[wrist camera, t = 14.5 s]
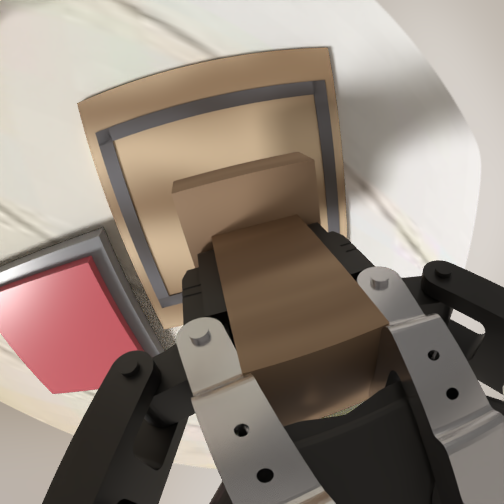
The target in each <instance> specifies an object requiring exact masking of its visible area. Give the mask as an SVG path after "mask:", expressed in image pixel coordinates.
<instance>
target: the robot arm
mask: <svg viewBox="0 0 504 504" xmlns="http://www.w3.org/2000/svg"><path fill="white" fill-rule="evenodd" d="M307 226H308V227H309V228H310V229H311V230H312V231H313V232H314V233H315V235H316V236H317V237H318V238H319V239H320V240H321V241H322V242H323V244H324V245H325V246H326V247H327V248H328V249H329V250H330V252H331V253H332V254H333V255H334V256H335V257H336V258H337V260H338V261H339V262H340V263H341V264H342V265H343V267H344V268H345V269H346V270H347V271H348V273H349V274H350V275H351V276H352V277H353V278H354V280H355V281H356V282H357V283H358V284H359V286H360V287H361V288H362V289H363V290H364V292H365V293H366V294H367V295H368V296H369V298H370V299H371V300H372V301H373V303H374V304H375V305H376V306H377V308H378V309H379V310H380V311H381V313H382V314H383V315H384V316H385V318H386V319H387V320H388V321H389V323H390V324H389V326H385V327H383V328H382V330H381V336H380V341H379V347H378V358H377V363H376V367H375V372H374V376H373V379H372V380H371V384H370V388H369V399H367V400H366V401H365V402H363V403H362V404H361V405H359V406H358V407H357V408H355V409H354V410H352V411H351V412H350V413H348V414H346V415H343V416H337V417H330V418H322V419H314V420H305V421H299V422H296V423H293V424H290V425H286V426H283V425H282V424H281V422H280V421H279V419H278V417H277V416H276V414H275V412H274V411H273V409H272V407H271V406H270V404H269V402H268V400H267V399H266V397H265V395H264V394H263V392H262V390H261V388H260V387H259V385H258V383H257V381H256V380H255V378H254V377H253V375H252V374H251V373H249V374H247V375H245V376H243V375H242V371H241V367H240V363H239V359H238V355H237V351H236V346H235V342H234V338H233V334H232V330H231V325H230V321H229V317H228V312H227V308H226V303H225V299H224V294H223V290H222V285H221V281H220V276H219V271H218V267H217V262H216V257H215V252H214V249H213V250H210V251H206V252H202V253H199V254H197V256H198V265H199V267H198V268H194V269H190V270H187V271H186V273H185V275H184V277H183V279H182V297H183V299H182V303H183V327H182V328H181V329H180V330H179V332H178V334H177V337H176V344H175V345H173V346H172V347H171V348H169V349H168V350H166V351H164V352H162V353H160V354H158V355H156V356H154V357H151V356H150V355H149V354H148V353H147V352H144V351H141V350H134V351H130V352H127V353H125V354H123V355H121V356H120V357H119V358H117V359H116V360H115V362H114V363H113V364H112V366H111V368H110V369H109V371H108V373H107V375H106V377H105V378H104V380H103V382H102V384H101V385H100V387H99V389H98V391H97V393H96V395H95V396H94V398H93V400H92V402H91V404H90V406H89V408H88V409H87V411H86V413H85V415H84V417H83V419H82V421H81V423H80V425H79V427H78V429H77V431H76V432H75V434H74V436H73V438H72V440H71V442H70V445H69V446H68V448H67V451H66V453H65V455H64V457H63V459H62V461H61V463H60V465H59V467H58V470H57V472H56V474H55V476H54V478H53V480H52V482H51V485H50V487H49V489H48V492H47V494H46V496H45V498H44V501H43V503H42V504H158V503H159V501H160V498H161V495H162V492H163V489H164V486H165V483H166V481H167V478H168V475H169V472H170V469H171V466H172V463H173V461H174V458H175V455H176V452H177V449H178V446H179V443H180V441H181V438H182V435H183V432H184V429H185V426H186V424H187V421H188V417H189V416H191V415H193V414H195V413H196V416H197V419H198V422H199V424H200V427H201V430H202V432H203V435H204V437H205V440H206V443H207V445H208V448H209V450H210V453H211V455H212V457H213V460H214V462H215V465H216V467H217V469H218V472H219V474H220V476H221V479H222V483H221V484H220V486H219V488H218V490H217V491H216V493H215V495H214V497H213V498H212V500H211V502H210V504H504V398H503V399H502V400H499V399H495V398H492V397H489V396H486V395H485V393H484V391H483V390H482V388H481V386H480V384H479V382H478V380H479V381H481V382H482V383H484V384H486V385H488V386H489V387H491V388H493V389H494V390H496V391H498V392H499V393H501V394H503V395H504V287H501V286H500V285H497V284H495V283H493V282H491V281H489V280H487V279H485V278H483V277H481V276H478V275H476V274H474V273H472V272H470V271H467V270H465V269H463V268H461V267H458V266H456V265H454V264H452V263H449V262H446V261H431V262H429V263H427V264H426V265H425V266H424V268H423V273H422V276H417V277H408V278H401V277H400V276H399V274H398V273H397V272H395V271H394V270H392V269H390V268H386V267H375V266H374V265H373V264H372V263H371V262H370V261H369V260H368V259H367V258H366V257H365V256H364V255H363V254H362V253H361V252H360V251H359V250H358V249H356V247H355V246H354V245H353V244H351V242H350V241H349V240H348V239H347V238H346V237H345V236H344V235H341V234H339V233H337V232H334V231H331V232H327V231H326V230H325V229H324V228H323V227H322V226H321V225H320V224H319V223H317V222H316V223H312V224H308V225H307ZM453 309H455V310H457V311H459V312H461V313H463V314H465V315H467V316H469V317H471V318H473V319H474V320H476V321H478V322H480V323H481V324H482V325H483V326H484V328H485V333H484V334H477V333H475V332H473V331H471V330H470V329H468V328H466V327H464V326H462V325H460V324H459V323H457V322H455V321H453V320H451V319H450V317H451V314H452V311H453Z"/></svg>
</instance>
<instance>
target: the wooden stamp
mask: <svg viewBox="0 0 504 504" xmlns="http://www.w3.org/2000/svg"><path fill="white" fill-rule="evenodd" d="M171 194H172V198H173V201H174V204H175V207H176V211H177V214H178V217H179V220H180V224H181V227H182V230H183V233H184V236H185V239H186V242H187V245H188V248H189V251H190V254H191V257H192V260H193V263H194V266H195V268H198V267H199V265H198V256H197V254H199V253H202V252H206V251H210V250H213V249H214V252H215V257H216V262H217V267H218V271H219V276H220V281H221V285H222V290H223V294H224V299H225V303H226V308H227V312H228V317H229V321H230V325H231V330H232V334H233V338H234V342H235V346H236V351H237V355H238V359H239V363H240V367H241V371H242V375H243V376H245V375H247V374H249V373H251V374H252V375H253V377H254V378H255V380H256V381H257V383H258V385H259V387H260V388H261V390H262V392H263V394H264V395H265V397H266V399H267V400H268V402H269V404H270V406H271V407H272V409H273V411H274V412H275V414H276V416H277V417H278V419H279V421H280V422H281V424H282V425H283V426H286V425H290V424H293V423H296V422H299V421H305V420H314V419H320V418H322V417H325V416H328V415H331V414H333V413H336V412H338V411H341V410H344V409H346V408H349V407H351V406H353V405H356V404H358V403H361V402H363V401H365V400H367V399H369V388H370V384H371V380H372V379H373V376H374V372H375V367H376V363H377V358H378V347H379V341H380V336H381V330H382V328H383V327H385V326H389V324H390V323H389V321H388V320H387V319H386V318H385V316H384V315H383V314H382V313H381V311H380V310H379V309H378V308H377V306H376V305H375V304H374V303H373V301H372V300H371V299H370V298H369V296H368V295H367V294H366V293H365V292H364V290H363V289H362V288H361V287H360V286H359V284H358V283H357V282H356V281H355V280H354V278H353V277H352V276H351V275H350V274H349V273H348V271H347V270H346V269H345V268H344V267H343V265H342V264H341V263H340V262H339V261H338V260H337V258H336V257H335V256H334V255H333V254H332V253H331V252H330V250H329V249H328V248H327V247H326V246H325V245H324V244H323V242H322V241H321V240H320V239H319V238H318V237H317V236H316V235H315V233H314V232H313V231H312V230H311V229H310V228H309V227H308V226H307V225H308V224H312V223H316V222H317V223H319V224H320V225H321V220H320V209H319V198H318V188H317V179H316V170H315V161H314V159H312V158H310V157H308V156H306V155H304V154H302V153H300V152H293V153H288V154H283V155H278V156H273V157H269V158H264V159H259V160H255V161H250V162H246V163H242V164H237V165H233V166H229V167H225V168H221V169H217V170H213V171H209V172H205V173H202V174H198V175H194V176H190V177H187V178H183V179H180V180H176V181H173V186H172V193H171Z"/></svg>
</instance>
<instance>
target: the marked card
mask: <svg viewBox="0 0 504 504" xmlns="http://www.w3.org/2000/svg"><path fill="white" fill-rule="evenodd" d="M77 104H78V108H79V112H80V116H81V120H82V124H83V127H84V131H85V134H86V138H87V141H88V145H89V148H90V151H91V154H92V158H93V161H94V164H95V167H96V170H97V173H98V176H99V179H100V182H101V185H102V188H103V190H104V193H105V196H106V199H107V202H108V204H109V207H110V210H111V212H112V215H113V217H114V220H115V223H116V225H117V228H118V230H119V233H120V235H121V237H122V240H123V242H124V245H125V247H126V249H127V252H128V254H129V256H130V259H131V261H132V263H133V266H134V268H135V270H136V272H137V274H138V277H139V279H140V281H141V283H142V285H143V287H144V289H145V292H146V294H147V296H148V298H149V300H150V302H151V304H152V306H153V308H154V310H155V312H156V314H157V316H158V318H159V320H160V322H161V324H162V326H163V328H164V329H169V328H173V327H177V326H181V325H183V303H182V299H183V297H182V279H183V277H184V275H185V273H186V271H187V270H190V269H194V268H195V266H194V263H193V260H192V257H191V254H190V251H189V248H188V245H187V242H186V239H185V236H184V233H183V230H182V227H181V224H180V220H179V217H178V214H177V211H176V207H175V204H174V201H173V198H172V194H171V193H172V186H173V181H176V180H180V179H183V178H187V177H190V176H194V175H198V174H202V173H205V172H209V171H213V170H217V169H221V168H225V167H229V166H233V165H237V164H242V163H246V162H250V161H255V160H259V159H264V158H269V157H273V156H278V155H283V154H288V153H293V152H300V153H302V154H304V155H306V156H308V157H310V158H312V159H314V161H315V170H316V179H317V188H318V198H319V209H320V220H321V226H322V227H323V228H324V229H325V230H326V231H327V232H331V231H334V232H337V233H339V234H341V235H344V236H345V237H346V238H347V219H346V197H345V181H344V167H343V155H342V145H341V135H340V126H339V117H338V109H337V102H336V94H335V88H334V81H333V75H332V69H331V63H330V57H329V52H328V48H305V49H290V50H279V51H269V52H261V53H253V54H246V55H240V56H233V57H228V58H222V59H217V60H212V61H207V62H202V63H198V64H193V65H189V66H185V67H181V68H177V69H173V70H170V71H166V72H162V73H159V74H155V75H152V76H149V77H146V78H142V79H139V80H136V81H133V82H130V83H127V84H125V85H122V86H119V87H116V88H114V89H111V90H108V91H106V92H103V93H101V94H98V95H96V96H93V97H91V98H88V99H86V100H84V101H81V102H79V103H77Z"/></svg>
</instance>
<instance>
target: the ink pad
mask: <svg viewBox="0 0 504 504" xmlns="http://www.w3.org/2000/svg"><path fill="white" fill-rule="evenodd" d="M0 333H1V335H2V336H3V337H4V339H5V340H6V341H7V342H8V344H9V345H10V346H11V348H12V349H13V350H14V351H15V352H16V354H17V355H18V356H19V357H20V359H21V360H22V361H23V362H24V363H25V364H26V366H27V367H28V368H29V369H30V370H31V371H32V372H33V373H34V375H35V376H36V377H37V378H38V379H39V380H40V381H41V382H42V383H43V384H44V385H45V386H46V387H47V388H48V389H49V390H50V392H51V393H52V394H58V393H69V392H79V391H87V390H95V389H99V387H100V385H101V384H102V382H103V380H104V378H105V377H106V375H107V373H108V371H109V369H110V368H111V366H112V364H113V363H114V362H115V360H116V359H117V358H119V357H120V356H121V355H123V354H125V353H127V352H130V351H134V350H141V351H144V352H147V353H148V354H149V355H150V356H151V357H154V356H156V355H158V354H160V353H162V352H164V351H165V350H164V349H163V347H162V345H161V343H160V342H159V340H158V338H157V336H156V335H155V333H154V331H153V329H152V327H151V326H150V324H149V322H148V320H147V318H146V316H145V314H144V313H143V311H142V309H141V307H140V305H139V303H138V301H137V299H136V297H135V295H134V293H133V291H132V289H131V287H130V285H129V283H128V281H127V279H126V277H125V275H124V273H123V270H122V268H121V266H120V264H119V262H118V260H117V257H116V255H115V253H114V251H113V248H112V246H111V244H110V242H109V239H108V237H107V235H106V232H105V230H104V227H103V228H100V229H97V230H95V231H92V232H89V233H86V234H83V235H80V236H77V237H75V238H72V239H69V240H66V241H64V242H61V243H58V244H55V245H53V246H50V247H47V248H45V249H42V250H40V251H37V252H35V253H32V254H29V255H27V256H24V257H22V258H20V259H17V260H15V261H12V262H10V263H7V264H5V265H3V266H0Z"/></svg>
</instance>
